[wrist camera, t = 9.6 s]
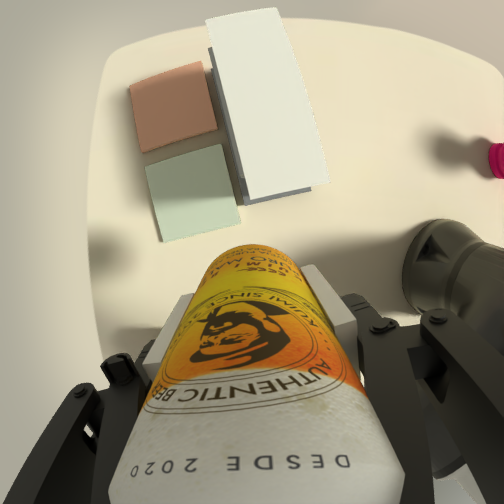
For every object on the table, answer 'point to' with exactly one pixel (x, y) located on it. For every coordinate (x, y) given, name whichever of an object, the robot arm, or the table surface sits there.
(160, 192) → the sage pad
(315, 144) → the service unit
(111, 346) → the table surface
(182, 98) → the terracotta pad
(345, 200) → the table surface
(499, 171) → the pepper mill
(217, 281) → the beer can
